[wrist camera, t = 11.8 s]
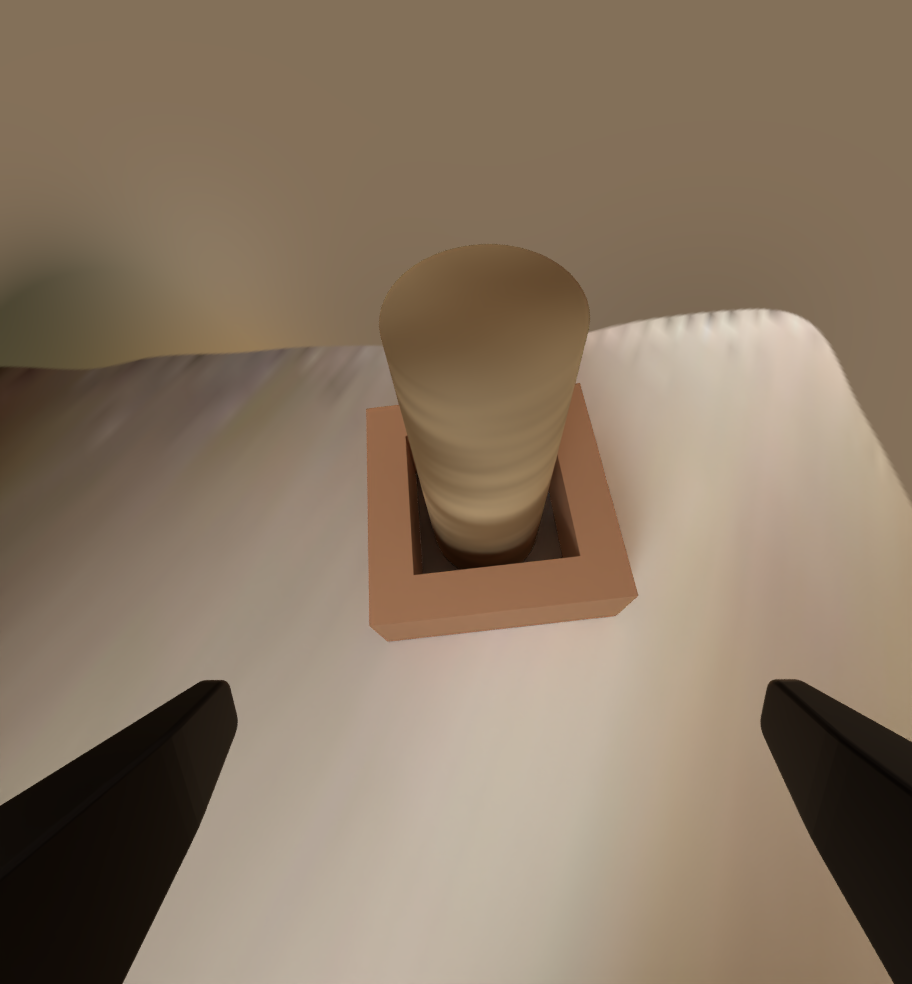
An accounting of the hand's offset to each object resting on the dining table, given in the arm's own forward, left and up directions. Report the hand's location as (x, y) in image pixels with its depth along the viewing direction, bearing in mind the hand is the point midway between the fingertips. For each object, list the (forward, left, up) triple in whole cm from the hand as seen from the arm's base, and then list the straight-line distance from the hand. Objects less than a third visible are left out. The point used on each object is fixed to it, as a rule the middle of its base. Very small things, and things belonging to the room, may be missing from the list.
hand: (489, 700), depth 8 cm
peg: (+5, -7, -12) cm, 15 cm away
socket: (+5, -7, -12) cm, 15 cm away
